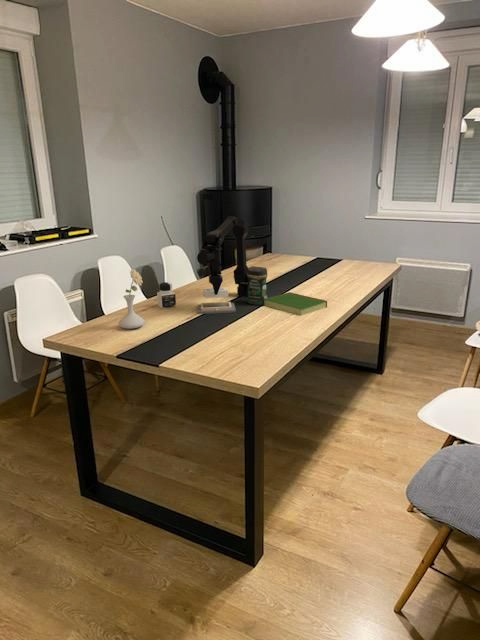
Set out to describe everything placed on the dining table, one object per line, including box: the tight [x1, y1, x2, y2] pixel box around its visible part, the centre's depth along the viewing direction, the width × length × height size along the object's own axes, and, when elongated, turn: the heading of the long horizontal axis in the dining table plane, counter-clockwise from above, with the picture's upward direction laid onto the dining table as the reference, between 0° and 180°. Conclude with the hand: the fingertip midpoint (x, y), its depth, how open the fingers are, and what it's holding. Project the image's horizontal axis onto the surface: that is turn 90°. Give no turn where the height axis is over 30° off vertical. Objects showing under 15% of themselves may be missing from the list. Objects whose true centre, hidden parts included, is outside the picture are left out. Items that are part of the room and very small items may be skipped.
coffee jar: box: [247, 265, 268, 306], centre depth 240 cm, size 10×8×19 cm
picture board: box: [196, 301, 237, 315], centre depth 233 cm, size 18×13×2 cm
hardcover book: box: [264, 292, 328, 316], centre depth 236 cm, size 25×19×4 cm
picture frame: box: [203, 286, 229, 299], centre depth 231 cm, size 11×6×3 cm, turn 101°
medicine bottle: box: [156, 281, 177, 310], centre depth 238 cm, size 7×7×12 cm
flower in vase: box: [117, 268, 146, 330], centre depth 208 cm, size 13×11×25 cm
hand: (215, 292), depth 231 cm, fingers closed on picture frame, 6 cm apart
